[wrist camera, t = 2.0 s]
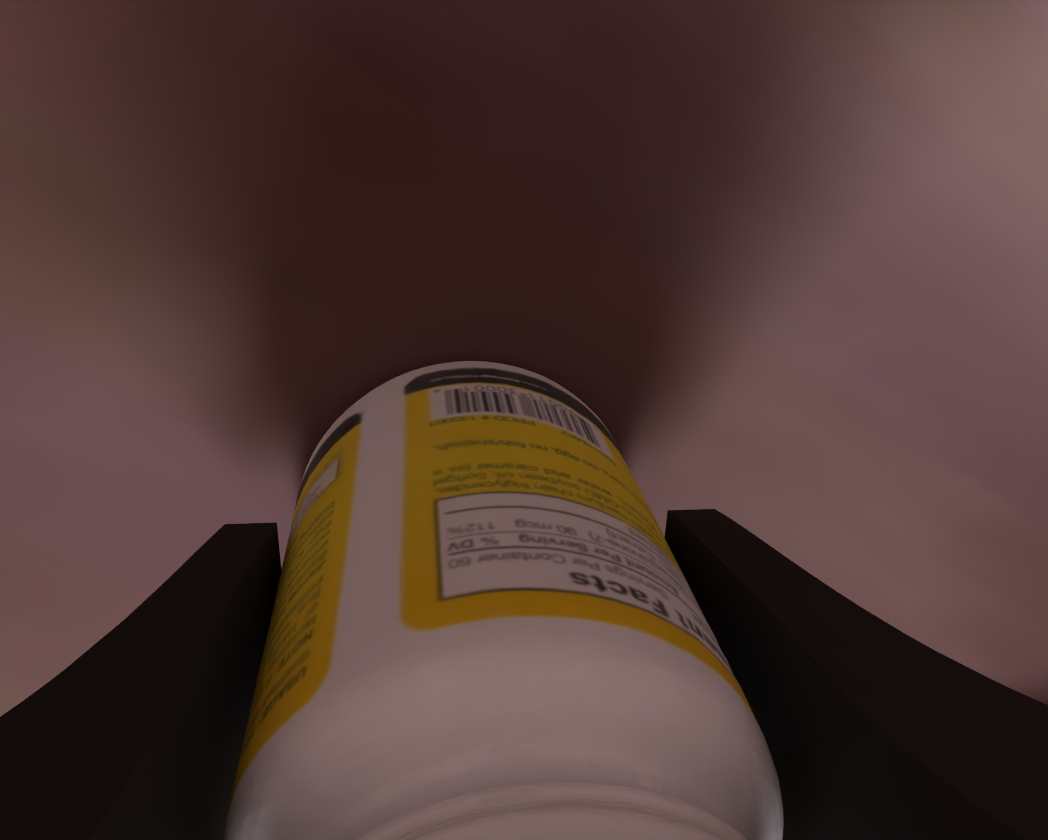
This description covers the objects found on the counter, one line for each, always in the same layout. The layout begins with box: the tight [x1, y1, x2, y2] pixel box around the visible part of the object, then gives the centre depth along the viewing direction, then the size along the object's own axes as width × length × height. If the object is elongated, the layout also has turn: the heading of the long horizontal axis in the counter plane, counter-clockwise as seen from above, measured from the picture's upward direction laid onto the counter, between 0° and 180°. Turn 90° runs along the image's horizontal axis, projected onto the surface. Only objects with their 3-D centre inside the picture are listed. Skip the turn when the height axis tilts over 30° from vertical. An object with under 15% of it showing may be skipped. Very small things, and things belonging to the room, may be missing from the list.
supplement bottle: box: [223, 361, 784, 840], centre depth 9 cm, size 5×5×8 cm
